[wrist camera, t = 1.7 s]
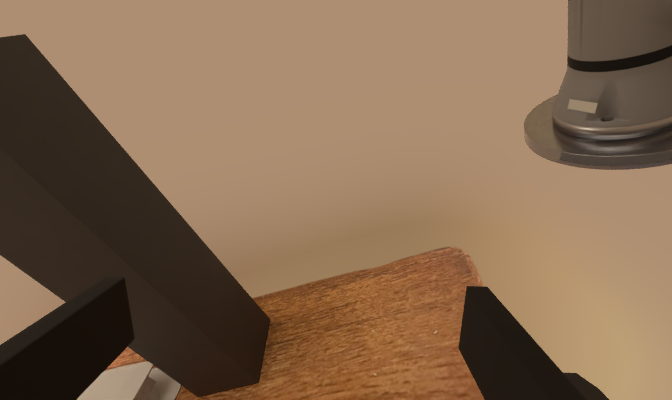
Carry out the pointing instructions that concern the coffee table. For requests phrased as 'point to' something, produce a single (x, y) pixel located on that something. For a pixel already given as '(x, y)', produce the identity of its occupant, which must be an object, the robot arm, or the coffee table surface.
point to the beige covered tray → (132, 384)
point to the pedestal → (114, 231)
